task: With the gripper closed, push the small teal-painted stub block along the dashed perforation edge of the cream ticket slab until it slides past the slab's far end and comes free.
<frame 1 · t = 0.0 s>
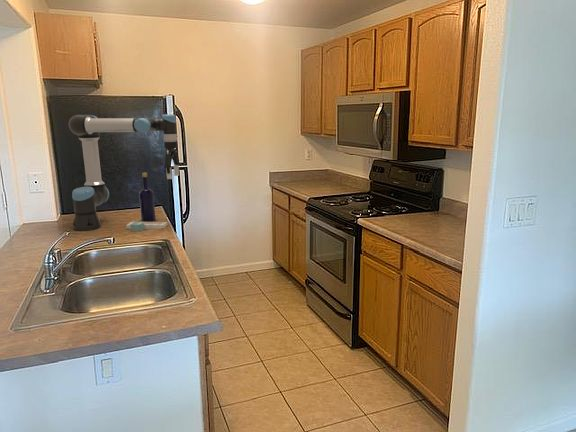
hand: (173, 177, 257), 28 cm above the worktop, fingers open, 13 cm apart
stub: (137, 230, 248), on the worktop
ticket slab: (147, 226, 254), on the worktop
bottle: (148, 220, 269), on the worktop
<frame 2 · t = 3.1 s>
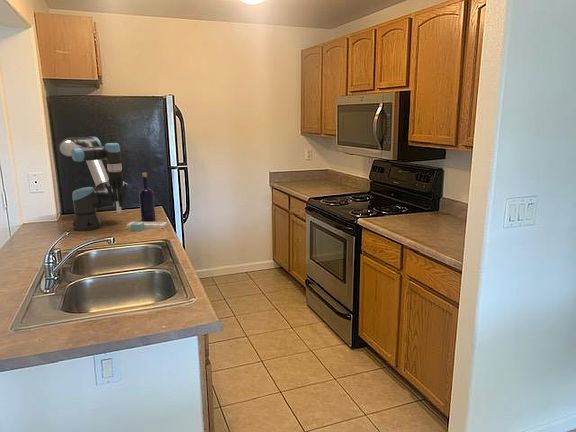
hand: (119, 212, 246), 10 cm above the worktop, fingers closed
nothing on the worktop moved.
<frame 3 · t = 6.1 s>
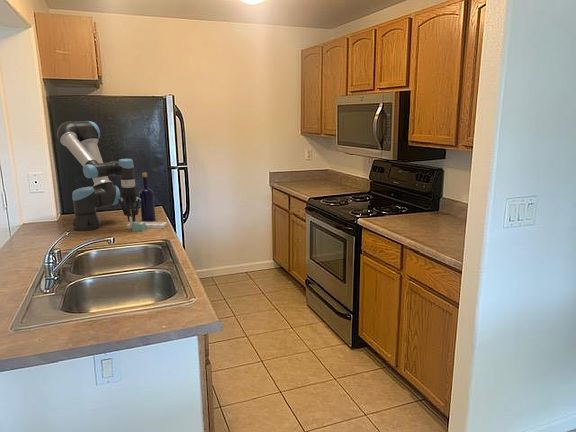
hand: (132, 227, 247), 2 cm above the worktop, fingers closed
stub: (139, 230, 247), on the worktop, touching gripper
everything else where it was.
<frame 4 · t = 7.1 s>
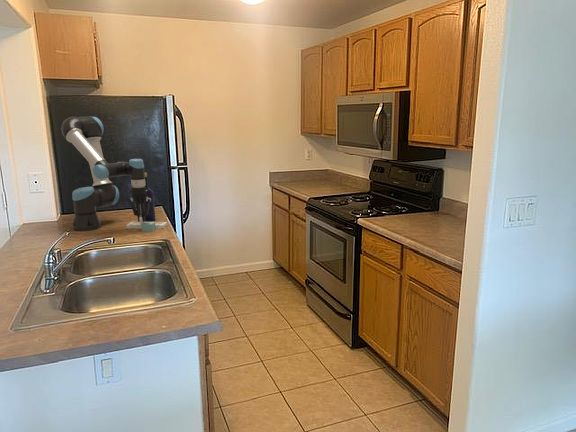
hand: (142, 227, 247), 2 cm above the worktop, fingers closed
stub: (148, 230, 247), on the worktop, touching gripper
everything else where it was.
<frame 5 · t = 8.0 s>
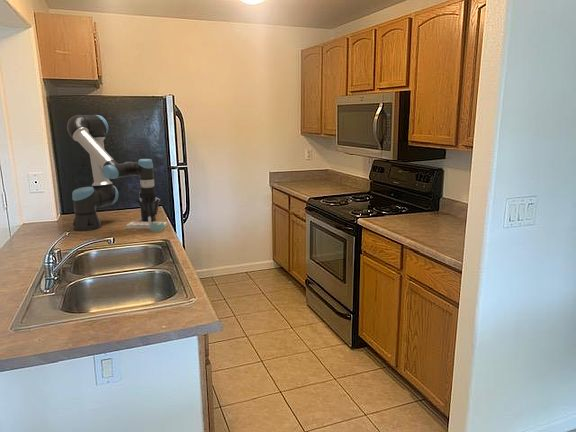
hand: (151, 227, 247), 2 cm above the worktop, fingers closed
stub: (157, 230, 247), on the worktop, touching gripper
everything else where it was.
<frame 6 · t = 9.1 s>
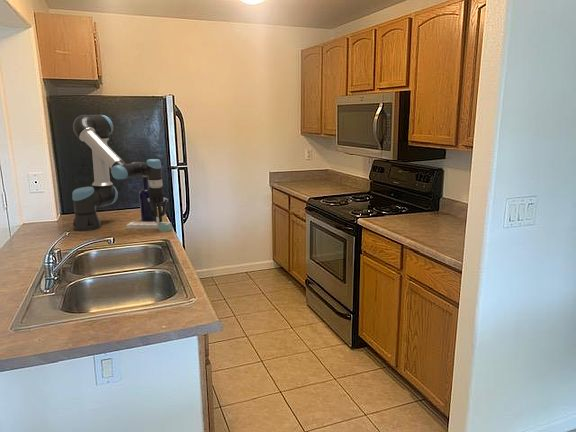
hand: (159, 227, 247), 2 cm above the worktop, fingers closed
stub: (165, 230, 247), on the worktop, touching gripper
everything else where it was.
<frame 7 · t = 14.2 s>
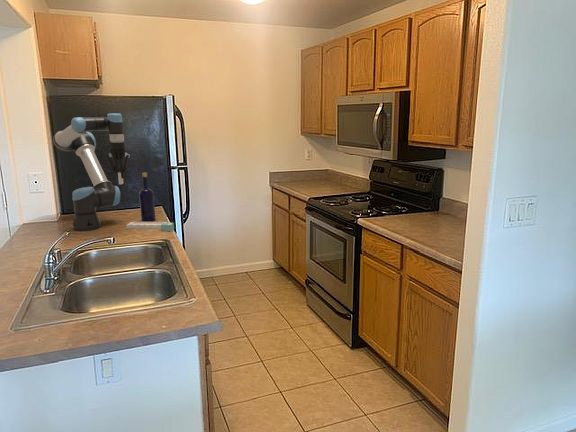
hand: (121, 183, 244), 26 cm above the worktop, fingers closed
stub: (167, 230, 246), on the worktop
everything else where it was.
at the end: stub inside the target area (11.1 cm from its centre), on the worktop; stub moved 17.7 cm from its start; stub touching worktop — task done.
